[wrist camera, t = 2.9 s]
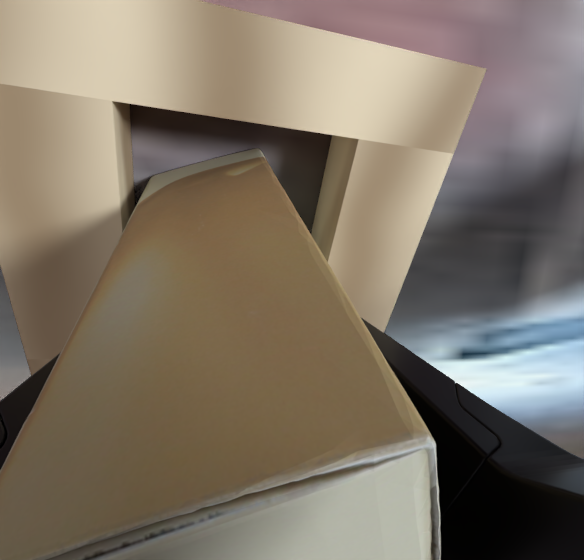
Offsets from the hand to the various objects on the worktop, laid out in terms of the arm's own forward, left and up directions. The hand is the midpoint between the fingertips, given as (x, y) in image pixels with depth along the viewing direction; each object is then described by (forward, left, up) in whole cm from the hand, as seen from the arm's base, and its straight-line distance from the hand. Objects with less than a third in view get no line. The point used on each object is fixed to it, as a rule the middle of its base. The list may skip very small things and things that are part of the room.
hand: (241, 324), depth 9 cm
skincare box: (0, 0, -6) cm, 6 cm away
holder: (0, 0, -6) cm, 6 cm away
